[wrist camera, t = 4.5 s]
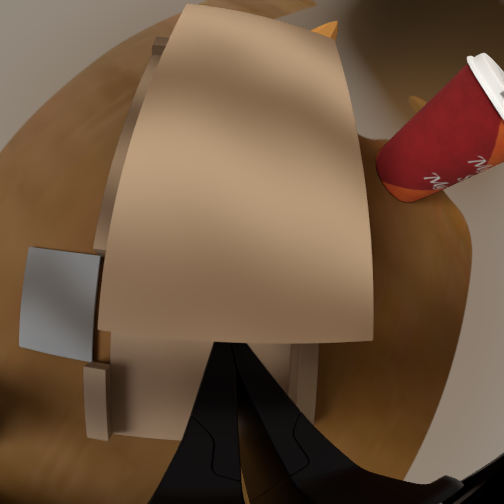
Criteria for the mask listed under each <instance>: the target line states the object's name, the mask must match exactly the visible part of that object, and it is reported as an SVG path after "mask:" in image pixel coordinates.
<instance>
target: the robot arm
mask: <svg viewBox="0 0 504 504" xmlns="http://www.w3.org/2000/svg"><path fill="white" fill-rule="evenodd" d="M241 469H242V473H243V478H244V482H245V486H246V490H247V494H248V498H249V502H250V504H504V453H503V454H501V455H500V456H499V457H497V458H496V459H494V460H493V461H491V462H490V463H488V464H487V465H485V466H484V467H482V468H481V469H480V470H478V471H476V472H475V473H473V474H472V475H470V476H468V477H466V478H465V479H463V480H461V481H459V480H457V479H455V478H452V477H449V476H443V477H441V478H439V479H438V480H436V481H434V482H432V483H430V484H415V483H411V482H406V481H402V480H398V479H394V478H390V477H386V476H383V475H379V474H376V473H372V472H369V471H367V470H365V469H363V468H361V467H359V466H358V465H356V464H355V463H354V462H353V461H351V460H350V459H349V458H348V457H347V456H346V455H344V454H343V453H342V452H341V451H340V450H339V449H338V448H336V447H335V446H334V445H333V444H332V443H331V442H330V441H329V440H328V439H326V438H325V437H324V436H323V435H322V434H321V433H320V432H319V431H318V430H317V429H316V428H315V427H314V425H313V424H312V423H311V422H310V421H309V420H308V419H307V418H306V416H305V415H304V414H303V413H302V412H300V409H299V408H298V407H297V406H296V404H295V403H294V402H293V401H292V400H291V398H290V397H289V396H288V395H287V394H286V392H285V391H284V390H283V389H282V387H281V386H280V385H279V384H278V382H277V381H276V380H275V379H274V377H273V376H272V375H271V374H270V372H269V371H268V370H267V368H266V367H265V366H264V365H263V363H262V362H261V361H260V360H259V358H258V357H257V356H256V354H255V353H254V352H253V350H252V349H251V348H250V347H249V345H248V344H247V343H234V342H213V345H212V348H211V352H210V355H209V358H208V361H207V364H206V367H205V370H204V373H203V376H202V380H201V383H200V386H199V389H198V392H197V395H196V398H195V402H194V405H193V408H192V411H191V414H190V417H189V420H188V423H187V426H186V429H185V432H184V435H183V437H182V440H181V442H180V444H179V446H178V449H177V451H176V453H175V455H174V457H173V459H172V461H171V463H170V464H169V466H168V468H167V470H166V472H165V474H164V476H163V478H162V480H161V482H160V484H159V485H158V487H157V489H156V491H155V492H154V494H153V496H152V497H151V499H150V500H149V502H148V503H147V504H245V501H244V498H243V492H242V483H241V481H242V480H241Z"/></svg>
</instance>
